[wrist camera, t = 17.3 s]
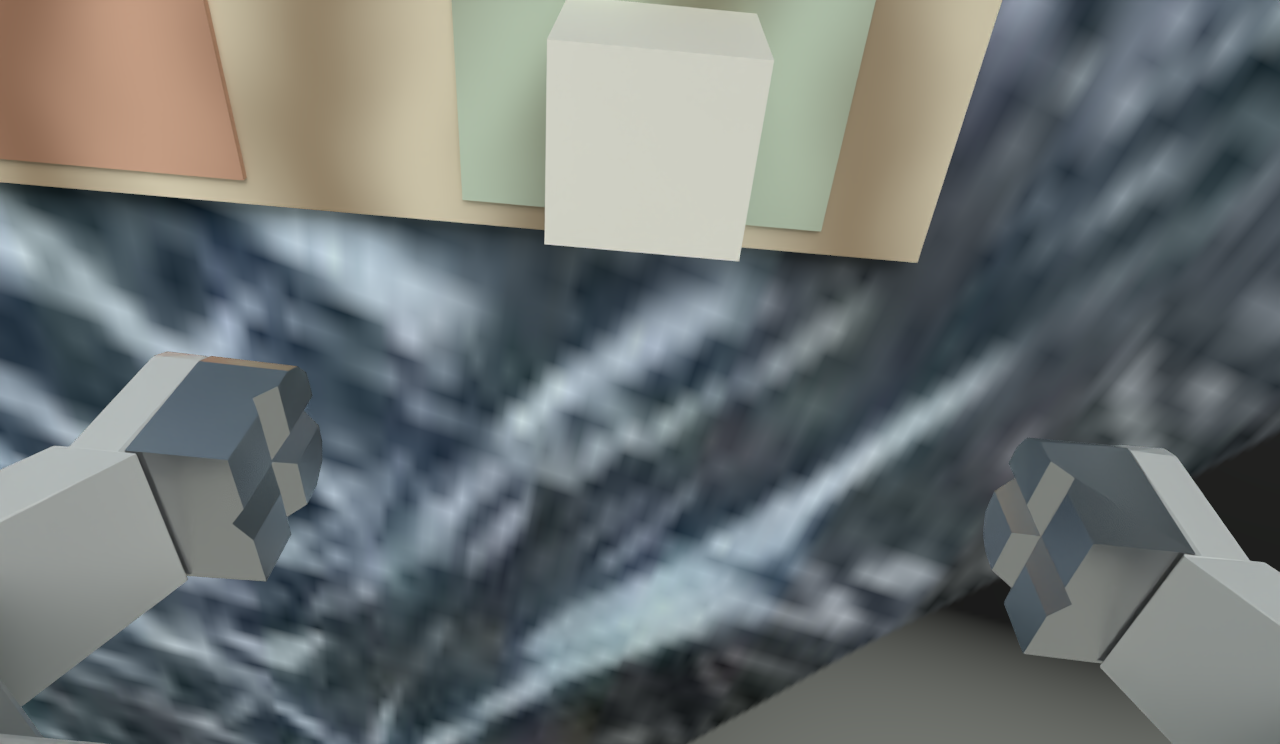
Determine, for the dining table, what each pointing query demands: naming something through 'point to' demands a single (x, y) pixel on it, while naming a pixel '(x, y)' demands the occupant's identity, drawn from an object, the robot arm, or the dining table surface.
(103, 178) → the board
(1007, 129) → the dining table surface
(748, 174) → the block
